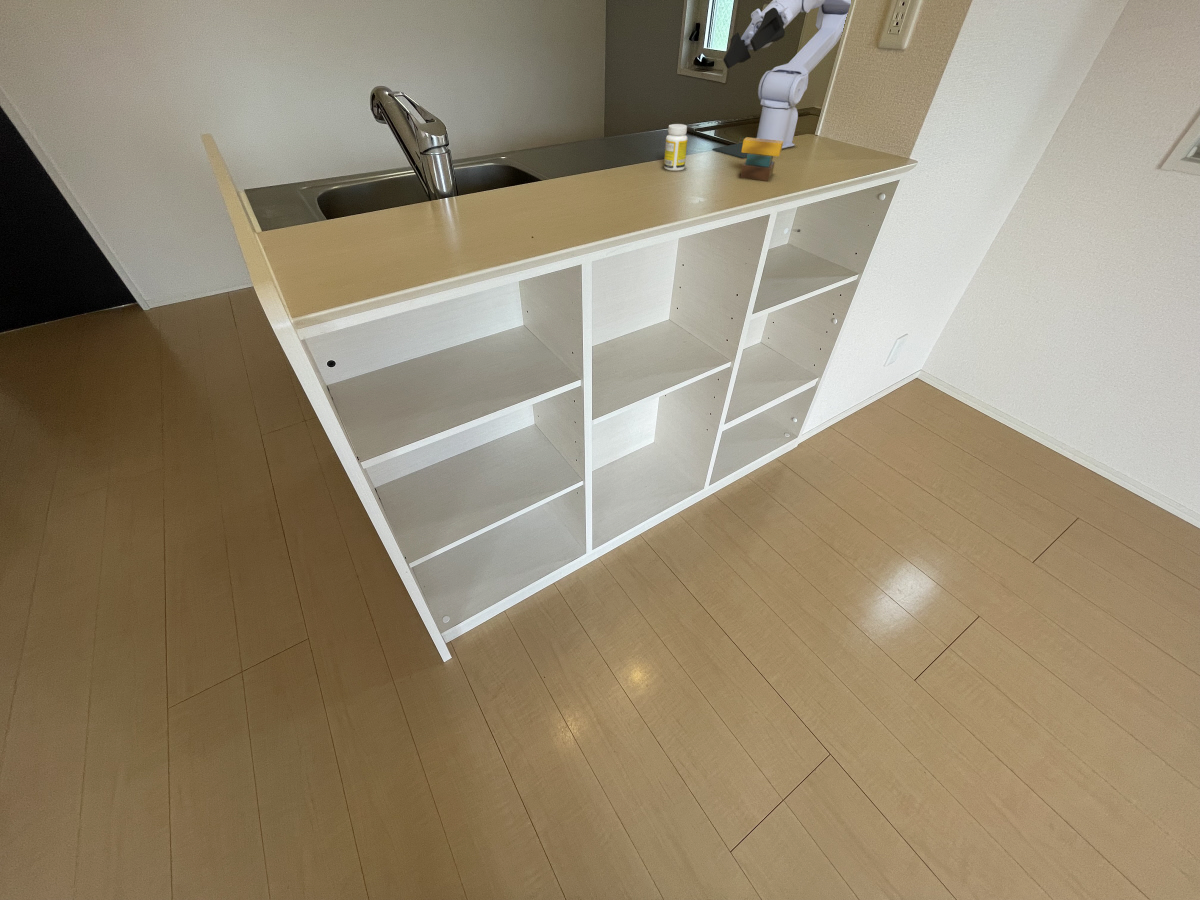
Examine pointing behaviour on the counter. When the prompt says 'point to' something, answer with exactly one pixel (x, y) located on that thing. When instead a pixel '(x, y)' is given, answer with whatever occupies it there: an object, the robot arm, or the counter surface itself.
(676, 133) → the supplement bottle
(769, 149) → the bar
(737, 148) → the mat
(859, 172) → the counter surface
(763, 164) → the two-tone stacked block
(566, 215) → the counter surface
